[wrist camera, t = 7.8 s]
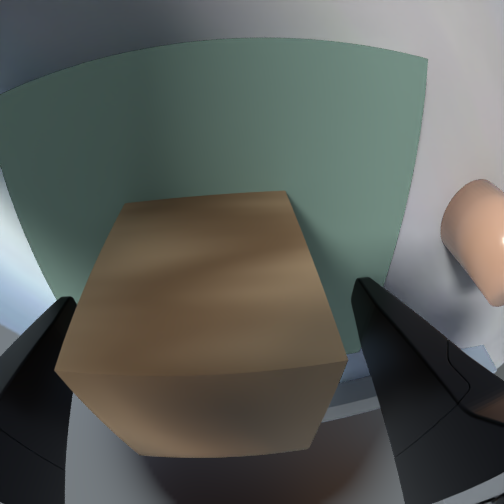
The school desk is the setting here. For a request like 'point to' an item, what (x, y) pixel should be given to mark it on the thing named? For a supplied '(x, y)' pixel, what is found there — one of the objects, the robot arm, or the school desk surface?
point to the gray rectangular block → (352, 399)
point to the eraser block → (481, 357)
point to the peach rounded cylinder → (478, 236)
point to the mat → (220, 148)
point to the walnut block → (205, 329)
